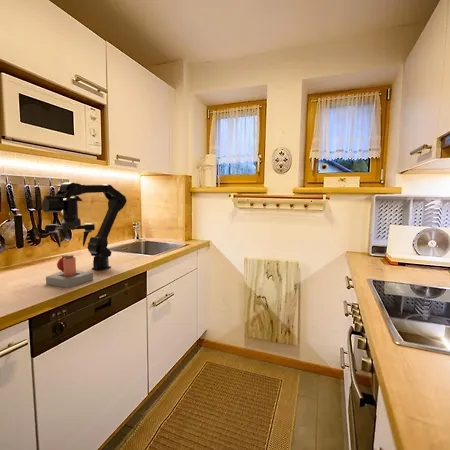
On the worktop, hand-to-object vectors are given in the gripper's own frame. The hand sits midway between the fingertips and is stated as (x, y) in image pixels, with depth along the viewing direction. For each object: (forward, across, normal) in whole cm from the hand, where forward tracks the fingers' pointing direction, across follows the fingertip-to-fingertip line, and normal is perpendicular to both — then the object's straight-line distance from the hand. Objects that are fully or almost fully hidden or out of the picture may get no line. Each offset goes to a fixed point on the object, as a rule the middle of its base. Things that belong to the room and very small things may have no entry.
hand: (71, 246), depth 119 cm
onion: (+13, -4, +7) cm, 16 cm away
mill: (+13, 0, -10) cm, 16 cm away
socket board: (+13, 0, -10) cm, 16 cm away
